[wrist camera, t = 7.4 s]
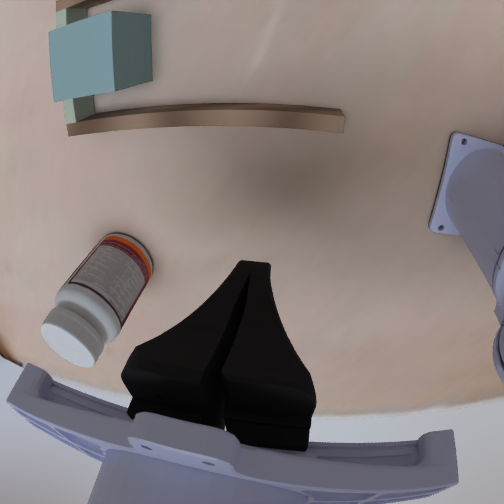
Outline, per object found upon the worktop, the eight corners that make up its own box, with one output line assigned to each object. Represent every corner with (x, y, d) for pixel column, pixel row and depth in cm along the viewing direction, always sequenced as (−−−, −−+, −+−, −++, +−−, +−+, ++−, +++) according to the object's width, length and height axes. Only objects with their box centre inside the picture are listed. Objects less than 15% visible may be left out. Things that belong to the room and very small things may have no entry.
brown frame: (341, -93, 9) (344, -108, 7) (339, 123, 18) (343, 133, 16) (79, -53, 11) (59, -57, 9) (87, 126, 21) (68, 136, 19)
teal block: (151, 15, 15) (111, 10, 12) (153, 80, 18) (114, 91, 14) (93, 28, 16) (48, 31, 12) (96, 87, 19) (54, 102, 15)
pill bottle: (121, 285, 31) (70, 370, 22) (89, 239, 28) (23, 321, 19) (166, 276, 29) (115, 374, 20) (133, 223, 26) (61, 316, 17)
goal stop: (86, 8, 15) (66, 8, 13) (95, 113, 20) (75, 122, 18) (77, 12, 15) (56, 12, 13) (85, 115, 20) (66, 124, 18)
